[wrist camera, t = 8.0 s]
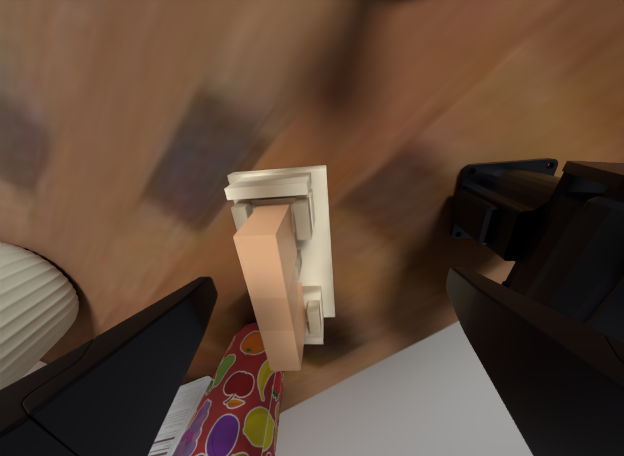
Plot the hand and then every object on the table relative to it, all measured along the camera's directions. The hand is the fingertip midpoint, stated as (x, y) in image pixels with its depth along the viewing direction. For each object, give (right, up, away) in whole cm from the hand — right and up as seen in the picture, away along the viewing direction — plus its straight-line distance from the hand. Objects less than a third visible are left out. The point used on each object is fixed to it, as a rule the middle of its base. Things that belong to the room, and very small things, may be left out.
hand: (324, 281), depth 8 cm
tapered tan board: (-3, -2, +11) cm, 11 cm away
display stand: (-3, 0, +14) cm, 14 cm away
